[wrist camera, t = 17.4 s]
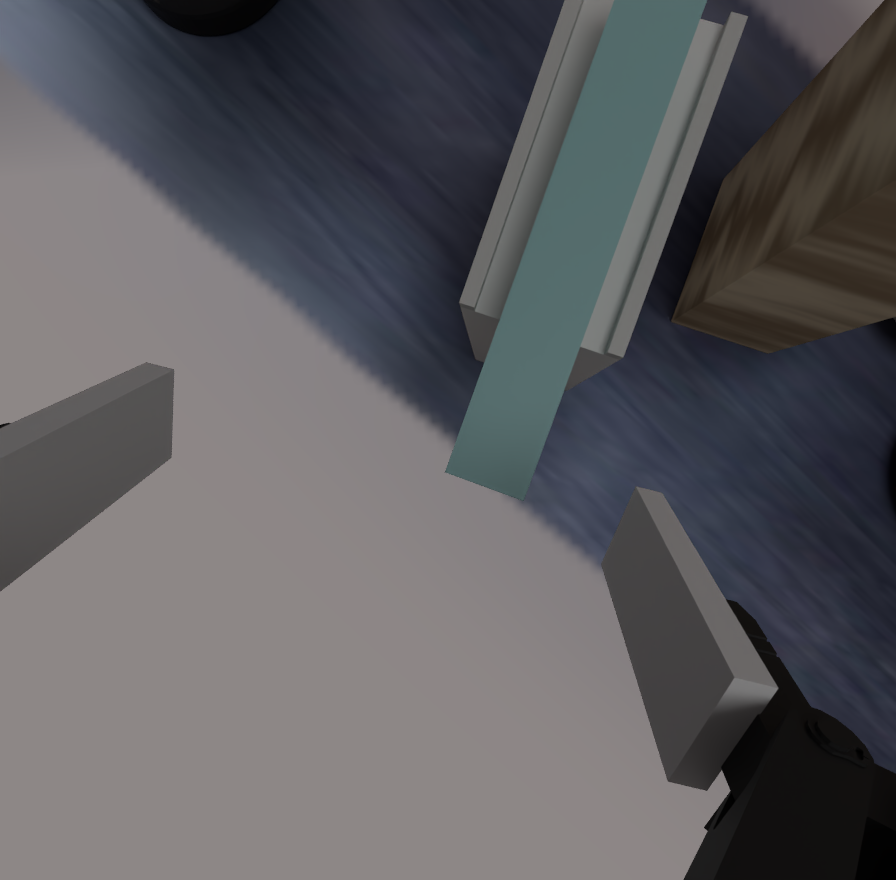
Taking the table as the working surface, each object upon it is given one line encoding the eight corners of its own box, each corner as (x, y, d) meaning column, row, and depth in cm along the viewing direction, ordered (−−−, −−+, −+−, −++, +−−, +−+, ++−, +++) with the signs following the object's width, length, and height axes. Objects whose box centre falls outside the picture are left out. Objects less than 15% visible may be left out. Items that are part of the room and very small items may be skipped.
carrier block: (566, 390, 44) (623, 357, 24) (475, 359, 45) (459, 302, 25) (633, 204, 44) (748, 16, 24) (540, 175, 44) (576, -32, 24)
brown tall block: (768, 353, 43) (1476, 148, 12) (671, 321, 43) (1102, 49, 12) (822, 209, 42) (1710, -397, 11) (723, 179, 43) (1309, -473, 12)
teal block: (519, 491, 26) (523, 501, 22) (451, 466, 26) (445, 472, 23) (681, 48, 25) (712, -15, 21) (609, 27, 25) (627, -39, 22)
